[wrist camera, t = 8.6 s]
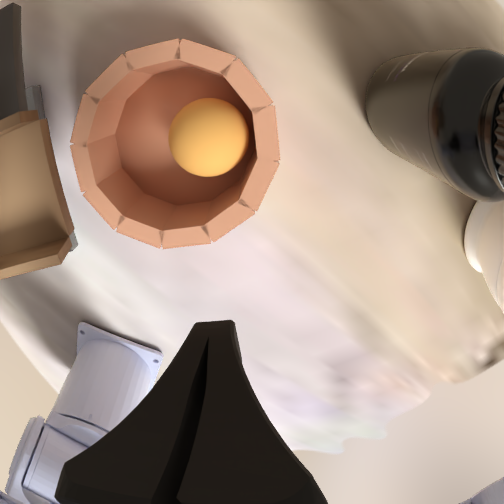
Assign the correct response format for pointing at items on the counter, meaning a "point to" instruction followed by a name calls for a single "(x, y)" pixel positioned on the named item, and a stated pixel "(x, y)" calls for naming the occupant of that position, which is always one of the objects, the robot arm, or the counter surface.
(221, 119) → the ball
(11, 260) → the brown tray
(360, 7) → the counter surface
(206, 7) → the counter surface
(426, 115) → the supplement bottle
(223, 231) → the cup
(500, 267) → the white tapered cylinder
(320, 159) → the counter surface
